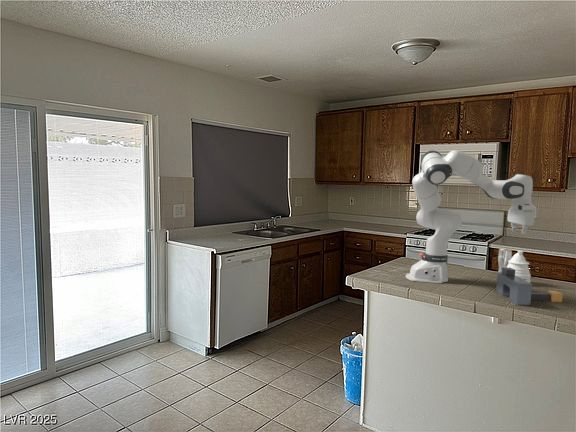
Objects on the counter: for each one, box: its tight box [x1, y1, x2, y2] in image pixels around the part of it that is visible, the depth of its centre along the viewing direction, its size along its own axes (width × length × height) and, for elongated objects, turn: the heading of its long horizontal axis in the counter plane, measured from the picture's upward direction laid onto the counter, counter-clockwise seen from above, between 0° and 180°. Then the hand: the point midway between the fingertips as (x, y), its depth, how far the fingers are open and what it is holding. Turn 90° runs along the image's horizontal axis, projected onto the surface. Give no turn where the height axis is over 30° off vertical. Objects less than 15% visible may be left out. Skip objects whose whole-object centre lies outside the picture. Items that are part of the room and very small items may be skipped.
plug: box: [531, 290, 564, 303], centre depth 194 cm, size 18×4×4 cm, turn 86°
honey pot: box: [507, 250, 532, 283], centre depth 223 cm, size 13×13×18 cm
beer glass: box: [497, 248, 513, 273], centre depth 241 cm, size 7×7×15 cm
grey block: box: [495, 267, 533, 307], centre depth 194 cm, size 6×21×13 cm, turn 176°
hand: (518, 232), depth 212 cm, fingers open, 8 cm apart
